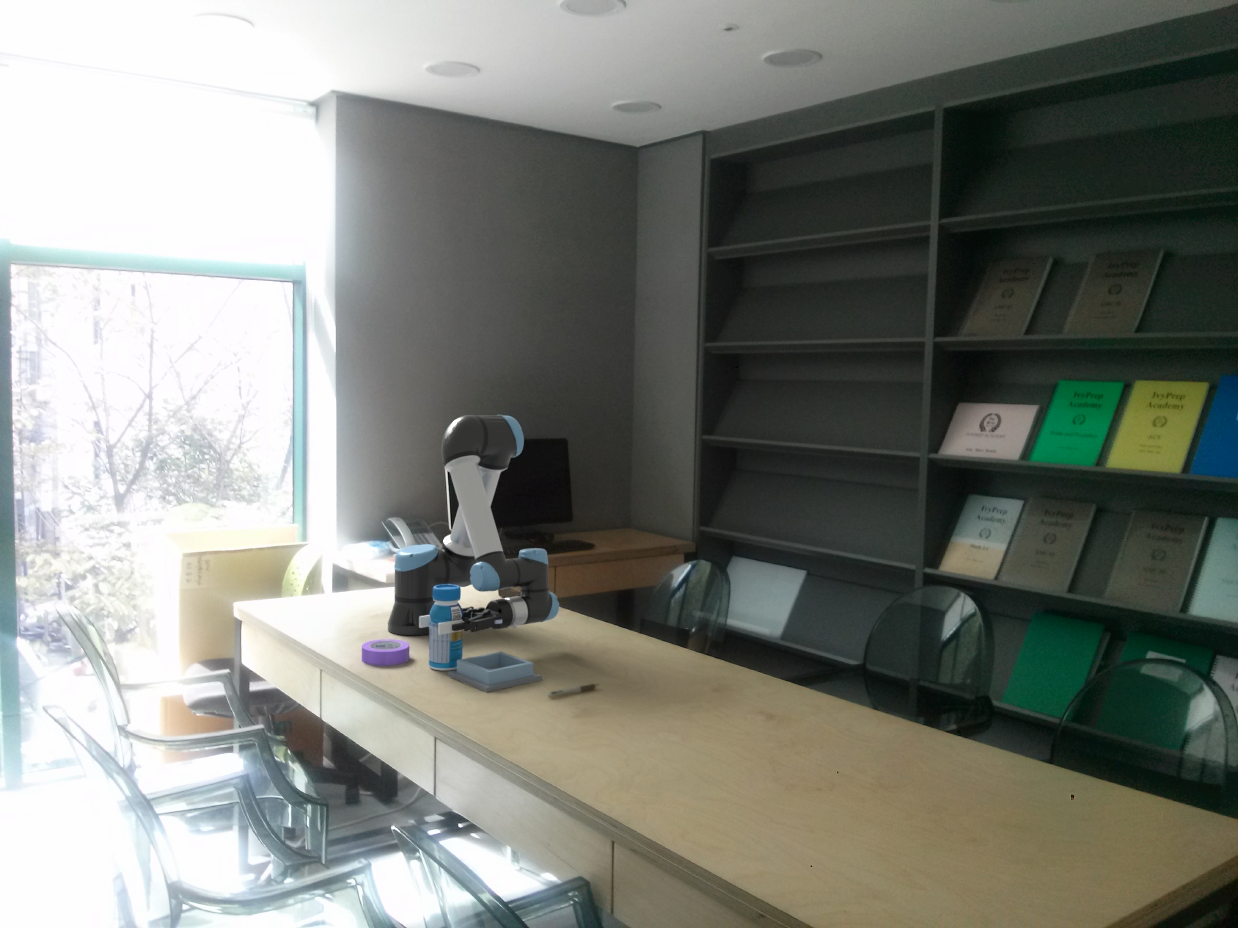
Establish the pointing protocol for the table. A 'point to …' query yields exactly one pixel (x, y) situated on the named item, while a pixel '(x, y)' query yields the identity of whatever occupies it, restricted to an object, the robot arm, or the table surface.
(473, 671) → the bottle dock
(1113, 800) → the table surface
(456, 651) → the beverage bottle
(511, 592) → the hand tool
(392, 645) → the masking tape
